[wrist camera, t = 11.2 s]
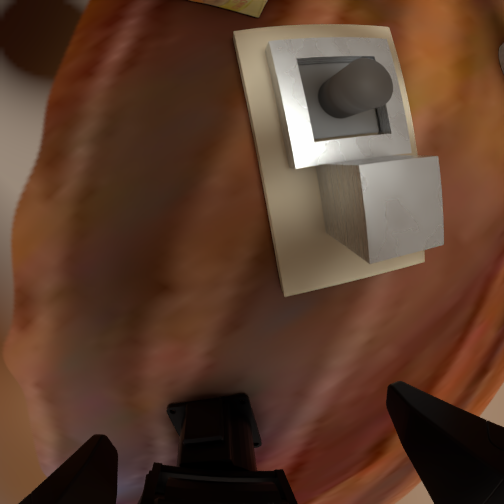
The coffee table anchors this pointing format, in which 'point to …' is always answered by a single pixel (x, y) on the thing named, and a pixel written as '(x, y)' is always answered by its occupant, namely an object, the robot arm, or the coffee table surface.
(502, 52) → the house plant
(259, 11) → the candy box
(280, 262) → the board
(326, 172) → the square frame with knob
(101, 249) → the coffee table surface
